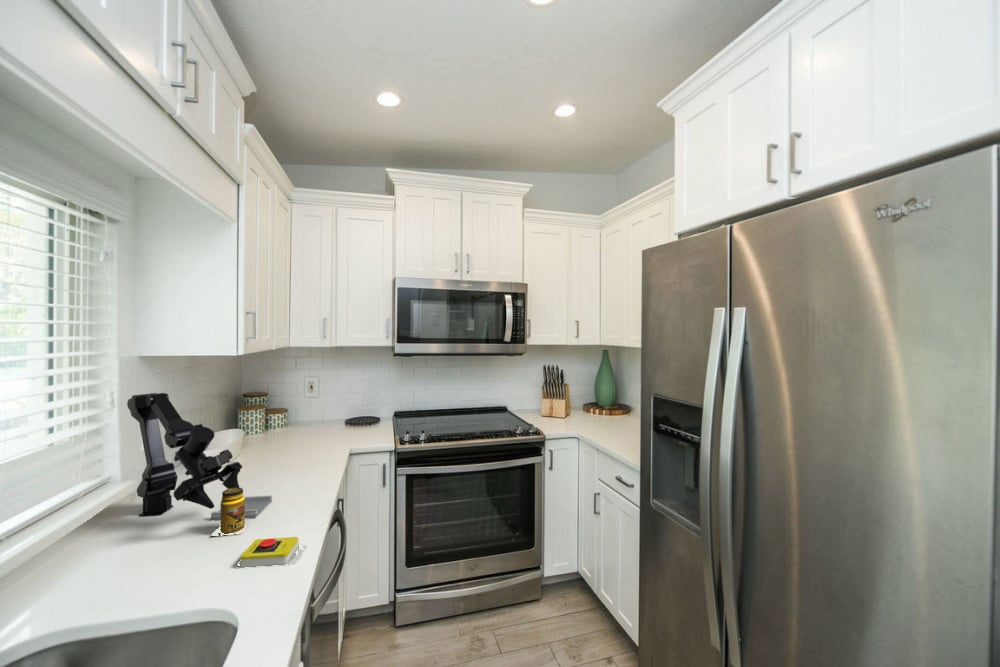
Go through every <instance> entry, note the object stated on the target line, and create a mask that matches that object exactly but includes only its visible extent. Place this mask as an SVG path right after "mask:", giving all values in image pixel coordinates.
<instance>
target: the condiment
mask: <svg viewBox="0 0 1000 667" xmlns="http://www.w3.org/2000/svg"><path fill="white" fill-rule="evenodd" d="M221 495H222V496H221V500H220V510H221V520H219V521H220V525H221V526H220V527H221V529H220V530H221V532H222V533H224V534H229V533H235V532H238V531H240V530H242V529H243V528H244V527H245V526H244V525H245V523H246V521H245V520H246V519H245V498H244V497H245V496H244V489H243V487H240V486H239V487H235V488H229V489H227V488H226V489H225V490H223V491H222V493H221Z"/></svg>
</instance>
